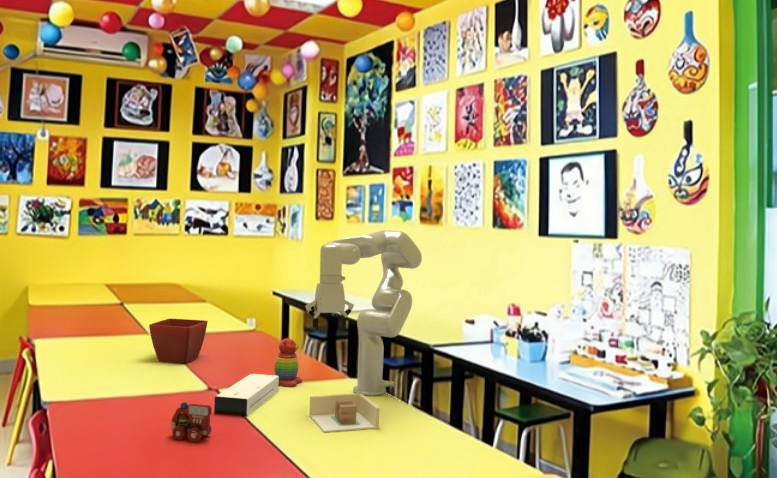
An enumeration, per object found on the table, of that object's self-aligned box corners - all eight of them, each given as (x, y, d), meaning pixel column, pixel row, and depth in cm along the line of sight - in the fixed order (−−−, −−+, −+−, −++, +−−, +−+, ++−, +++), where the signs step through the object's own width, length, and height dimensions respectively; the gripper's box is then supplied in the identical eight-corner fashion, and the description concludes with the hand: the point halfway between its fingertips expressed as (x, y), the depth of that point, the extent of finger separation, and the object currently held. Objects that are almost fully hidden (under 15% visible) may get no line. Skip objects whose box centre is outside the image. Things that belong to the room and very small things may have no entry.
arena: (360, 412, 231) (361, 393, 231) (378, 428, 215) (379, 407, 214) (309, 415, 225) (310, 396, 225) (323, 432, 208) (324, 411, 208)
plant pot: (146, 362, 292) (147, 324, 291) (168, 354, 311) (169, 318, 310) (188, 366, 289) (189, 327, 288) (207, 357, 308) (208, 320, 307)
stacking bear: (294, 387, 260) (295, 341, 260) (269, 385, 262) (271, 339, 262) (303, 381, 271) (305, 337, 270) (279, 379, 273) (281, 335, 272)
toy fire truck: (179, 431, 204) (180, 397, 203) (216, 437, 200) (217, 402, 200) (165, 438, 197) (167, 403, 197) (203, 444, 194) (204, 408, 193)
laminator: (246, 417, 221) (247, 399, 221) (210, 414, 223) (211, 396, 223) (278, 391, 255) (279, 375, 255) (247, 389, 257) (247, 373, 257)
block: (355, 423, 216) (356, 406, 216) (340, 424, 215) (341, 407, 215) (349, 416, 224) (350, 399, 224) (334, 416, 223) (335, 400, 222)
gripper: (350, 278, 241) (349, 325, 242) (303, 279, 235) (302, 327, 236) (357, 280, 234) (356, 329, 235) (309, 281, 228) (308, 331, 229)
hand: (329, 328), depth 235 cm, fingers open, 9 cm apart
